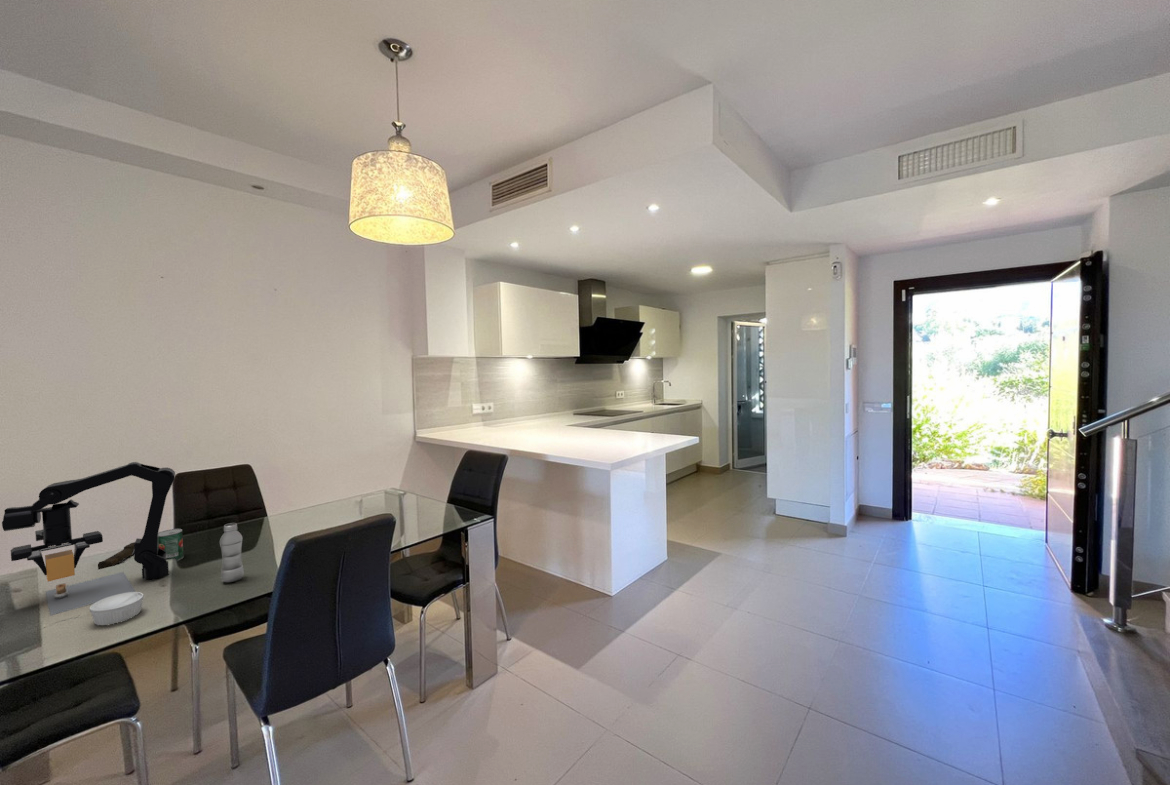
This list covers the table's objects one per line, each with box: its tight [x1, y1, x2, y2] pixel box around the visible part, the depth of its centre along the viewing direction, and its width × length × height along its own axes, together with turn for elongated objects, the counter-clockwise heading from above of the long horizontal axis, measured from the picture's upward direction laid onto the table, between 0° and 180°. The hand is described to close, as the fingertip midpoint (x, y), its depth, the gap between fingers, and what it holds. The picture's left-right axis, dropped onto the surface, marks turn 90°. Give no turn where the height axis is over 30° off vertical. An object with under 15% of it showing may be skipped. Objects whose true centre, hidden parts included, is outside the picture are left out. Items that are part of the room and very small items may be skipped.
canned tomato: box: [158, 528, 185, 561], centre depth 175 cm, size 8×8×11 cm
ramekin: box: [89, 591, 145, 626], centre depth 134 cm, size 11×11×5 cm
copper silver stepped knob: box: [55, 583, 68, 599], centre depth 143 cm, size 3×3×4 cm
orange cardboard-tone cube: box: [44, 549, 76, 583], centre depth 143 cm, size 6×6×7 cm
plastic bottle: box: [219, 522, 245, 583], centre depth 157 cm, size 6×7×20 cm
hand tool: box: [97, 541, 135, 570], centre depth 174 cm, size 19×4×5 cm, turn 15°
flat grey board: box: [44, 571, 137, 616], centre depth 147 cm, size 24×18×2 cm
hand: (60, 571), depth 143 cm, fingers closed on orange cardboard-tone cube, 6 cm apart
